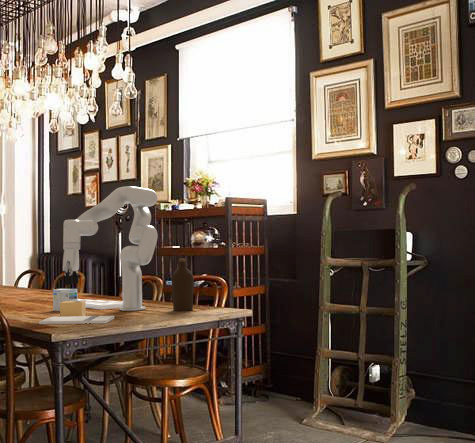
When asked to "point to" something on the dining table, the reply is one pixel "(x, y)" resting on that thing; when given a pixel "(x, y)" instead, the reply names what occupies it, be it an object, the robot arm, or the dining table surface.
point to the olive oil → (182, 288)
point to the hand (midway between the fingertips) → (71, 284)
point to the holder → (101, 304)
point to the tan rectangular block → (72, 308)
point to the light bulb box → (63, 297)
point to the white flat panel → (76, 319)
